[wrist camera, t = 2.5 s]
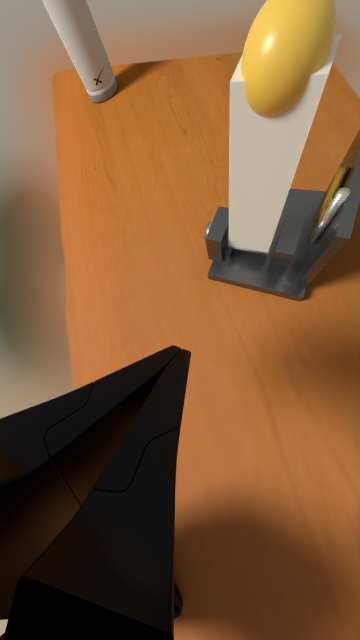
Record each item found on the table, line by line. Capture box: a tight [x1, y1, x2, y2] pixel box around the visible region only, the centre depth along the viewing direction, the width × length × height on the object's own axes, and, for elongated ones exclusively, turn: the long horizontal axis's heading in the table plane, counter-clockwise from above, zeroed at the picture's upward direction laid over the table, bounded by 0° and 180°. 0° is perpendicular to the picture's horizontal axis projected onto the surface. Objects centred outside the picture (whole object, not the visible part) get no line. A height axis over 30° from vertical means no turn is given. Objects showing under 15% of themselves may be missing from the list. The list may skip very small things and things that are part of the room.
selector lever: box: [228, 0, 342, 255], centre depth 14 cm, size 4×4×15 cm
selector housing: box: [205, 130, 360, 301], centre depth 18 cm, size 13×11×9 cm
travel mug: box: [42, 0, 118, 103], centre depth 30 cm, size 6×7×20 cm
